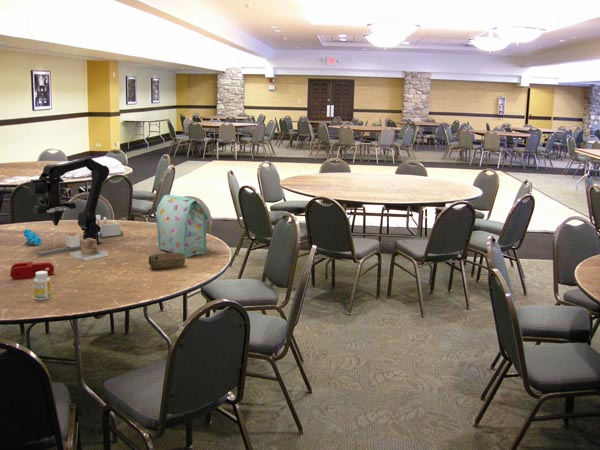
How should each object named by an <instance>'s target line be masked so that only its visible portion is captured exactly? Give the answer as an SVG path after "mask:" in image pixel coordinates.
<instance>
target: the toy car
mask: <svg viewBox="0 0 600 450" xmlns="http://www.w3.org/2000/svg"><path fill="white" fill-rule="evenodd" d="M101 218H102V216H101V215H100V214H96V222H97V225H98V226H100V227H101V229H100V232H98V236H99V239H103V238H105V237H111V236H120V237H122V236H124V233H123V230H121V229H122V227H121V223H120V222H119V223H118V222H117V223H110V224H109V223H108V224H106V220H107V218H108V217H106V216H105V217H103V218H102V219H103V220H104V224H100V220H101Z"/></svg>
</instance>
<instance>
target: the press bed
mask: <svg viewBox="0 0 600 450" xmlns="http://www.w3.org/2000/svg"><path fill="white" fill-rule="evenodd" d="M69 255H70V257H72V258H74V259H75V258H76V259H78V260H81V261H83V262H84V261H85V262H86V261H91V260H94V259H100V258H105V257H108V256H109V252H107V251H104V250H101V249H98V248H97V253H93V254H88V255H87V254H84V253H81V250H77V251H70V252H69Z"/></svg>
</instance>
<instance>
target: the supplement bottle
mask: <svg viewBox="0 0 600 450" xmlns="http://www.w3.org/2000/svg"><path fill="white" fill-rule="evenodd" d="M35 274H36V276H35V277H34V278H33V288H34V289H33V290H34V298H35V300H37V301H45V300H49V299H50V298H51V297H52V290H51V278H50V277H48V276H49V275H48V272H47V271H38V272H36V273H35Z"/></svg>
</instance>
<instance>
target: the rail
mask: <svg viewBox="0 0 600 450" xmlns="http://www.w3.org/2000/svg"><path fill="white" fill-rule="evenodd" d="M75 250H81V245H80V246H77V247H72V248H70V247H68V246H65V247H58V248H55V249H48V250H44V251H43V250H42V251H37V252H36V253H37V256H40V257H44V256H48V255H53V254H59V253H64V252H69V251H70V252H72V251H75Z"/></svg>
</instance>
